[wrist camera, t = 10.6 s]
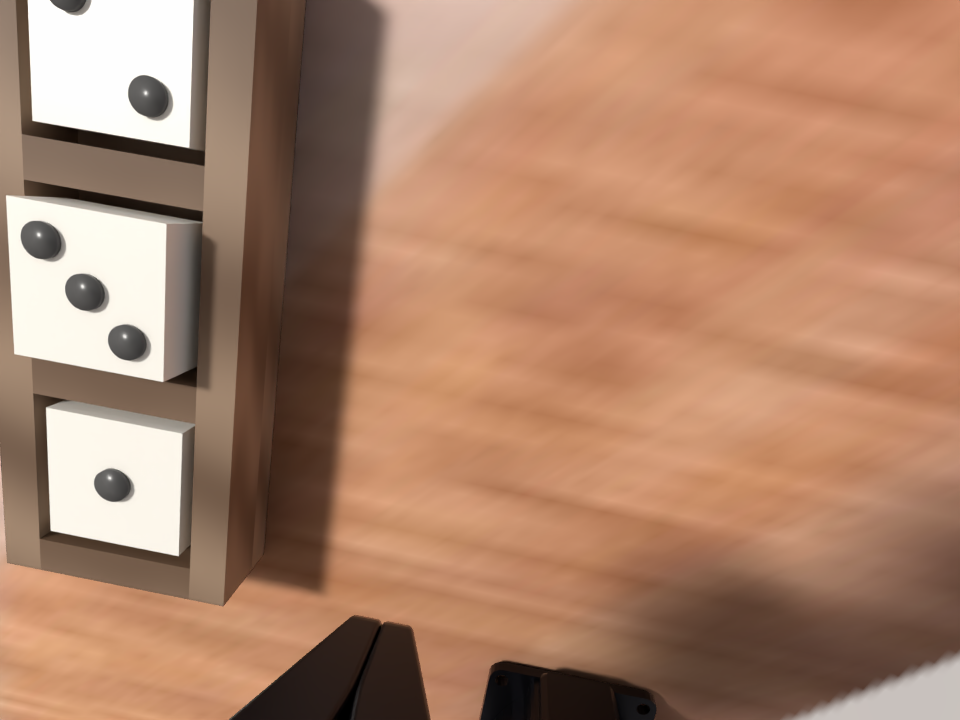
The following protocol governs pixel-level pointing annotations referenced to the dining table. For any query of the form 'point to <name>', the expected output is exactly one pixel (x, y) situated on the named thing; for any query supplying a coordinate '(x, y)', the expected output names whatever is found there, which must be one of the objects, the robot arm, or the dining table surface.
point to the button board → (223, 299)
